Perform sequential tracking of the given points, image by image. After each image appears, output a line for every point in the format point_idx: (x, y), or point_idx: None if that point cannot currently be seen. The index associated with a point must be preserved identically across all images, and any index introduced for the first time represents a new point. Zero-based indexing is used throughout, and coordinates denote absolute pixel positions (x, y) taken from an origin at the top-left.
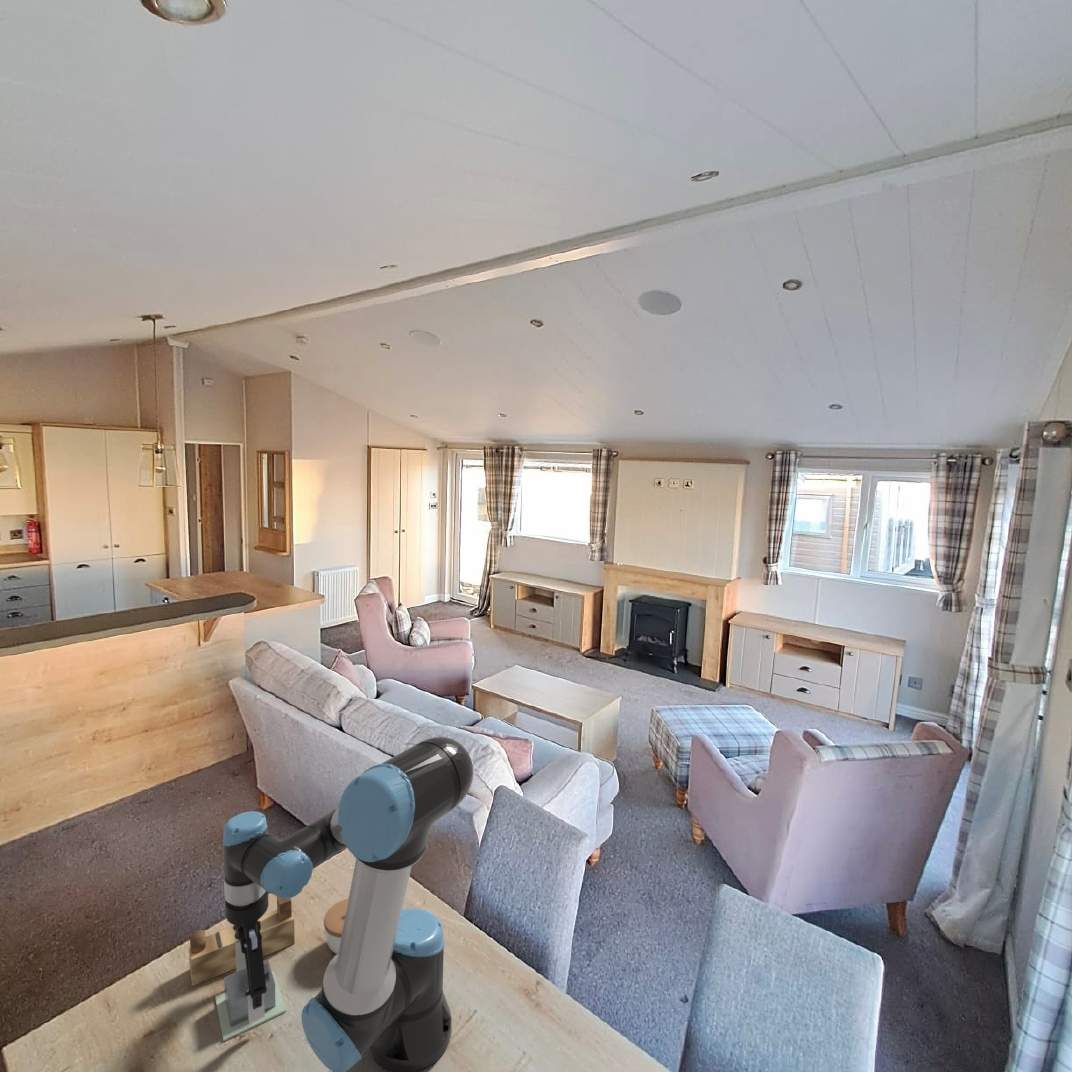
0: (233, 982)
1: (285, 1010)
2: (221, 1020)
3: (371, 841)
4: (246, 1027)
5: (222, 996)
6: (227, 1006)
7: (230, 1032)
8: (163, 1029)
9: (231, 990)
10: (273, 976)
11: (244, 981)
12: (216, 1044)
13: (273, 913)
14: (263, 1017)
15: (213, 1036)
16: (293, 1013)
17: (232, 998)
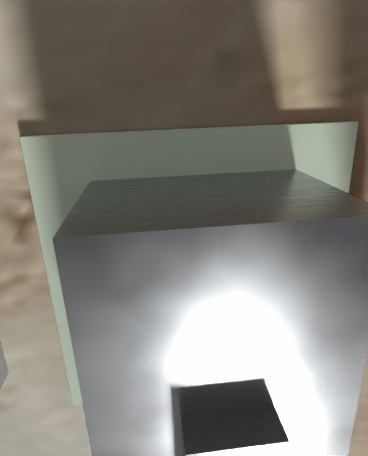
0: (282, 279)
1: (72, 403)
2: (164, 139)
3: None
4: (49, 253)
5: (328, 158)
6: (202, 185)
7: (56, 177)
8: None
9: (205, 259)
10: None
11: (239, 351)
12: (22, 97)
13: None
14: None
15: (88, 86)
16: (52, 419)
17: (106, 261)
